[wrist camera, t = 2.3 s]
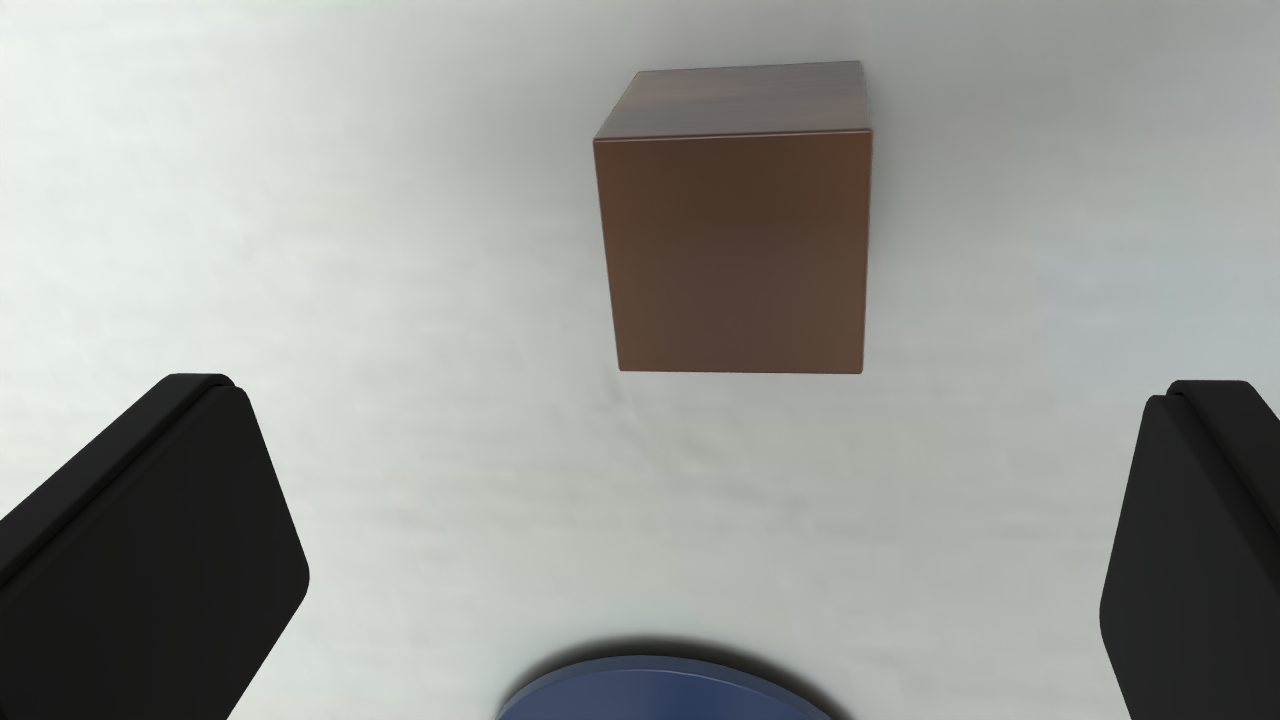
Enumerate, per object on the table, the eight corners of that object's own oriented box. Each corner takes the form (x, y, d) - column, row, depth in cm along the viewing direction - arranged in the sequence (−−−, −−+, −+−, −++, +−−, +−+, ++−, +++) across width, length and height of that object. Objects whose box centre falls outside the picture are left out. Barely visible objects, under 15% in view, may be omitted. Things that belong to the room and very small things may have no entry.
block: (862, 60, 16) (873, 128, 13) (855, 267, 18) (863, 375, 15) (636, 70, 17) (590, 138, 13) (654, 269, 19) (617, 373, 15)
